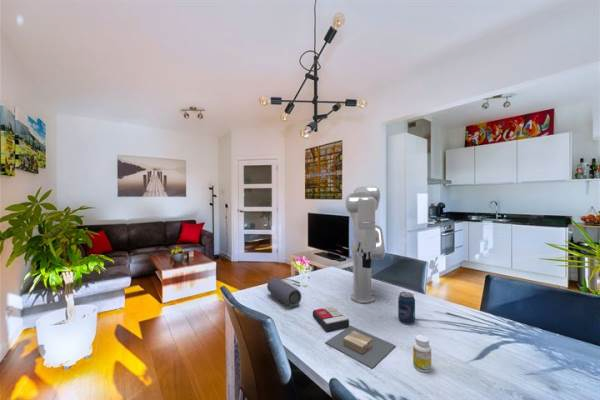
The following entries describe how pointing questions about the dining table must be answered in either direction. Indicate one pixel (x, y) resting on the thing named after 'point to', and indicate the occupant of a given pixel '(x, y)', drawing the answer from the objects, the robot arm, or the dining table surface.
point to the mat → (368, 357)
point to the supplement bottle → (422, 353)
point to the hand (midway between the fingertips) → (366, 267)
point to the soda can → (406, 308)
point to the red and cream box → (330, 319)
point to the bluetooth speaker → (284, 292)
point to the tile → (357, 342)
